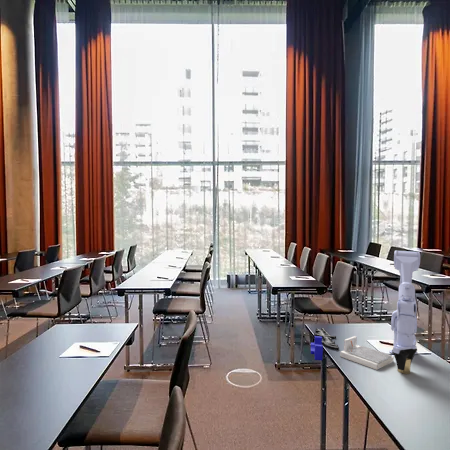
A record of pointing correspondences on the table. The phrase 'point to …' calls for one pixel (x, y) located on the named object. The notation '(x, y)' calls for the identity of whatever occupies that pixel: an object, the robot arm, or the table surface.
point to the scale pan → (370, 354)
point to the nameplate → (326, 339)
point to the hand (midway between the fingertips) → (403, 367)
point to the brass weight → (406, 367)
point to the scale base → (352, 344)
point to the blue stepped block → (317, 348)
